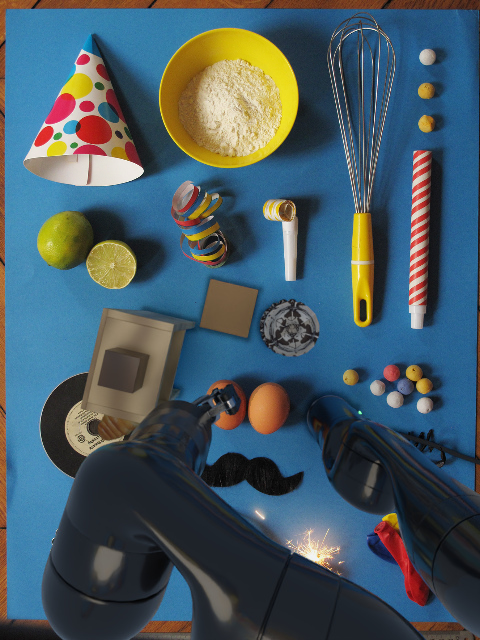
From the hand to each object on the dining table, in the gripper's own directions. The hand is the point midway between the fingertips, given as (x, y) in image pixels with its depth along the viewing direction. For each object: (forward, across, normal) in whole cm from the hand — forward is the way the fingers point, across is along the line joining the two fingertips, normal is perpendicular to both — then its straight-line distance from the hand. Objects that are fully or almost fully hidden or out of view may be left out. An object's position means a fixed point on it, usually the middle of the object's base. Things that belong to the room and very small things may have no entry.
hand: (191, 409), depth 57 cm
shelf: (+29, -6, +9) cm, 31 cm away
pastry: (+29, -20, +1) cm, 35 cm away
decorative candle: (+29, +18, +3) cm, 34 cm away
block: (+5, -6, +9) cm, 12 cm away
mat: (+29, +10, +11) cm, 32 cm away
